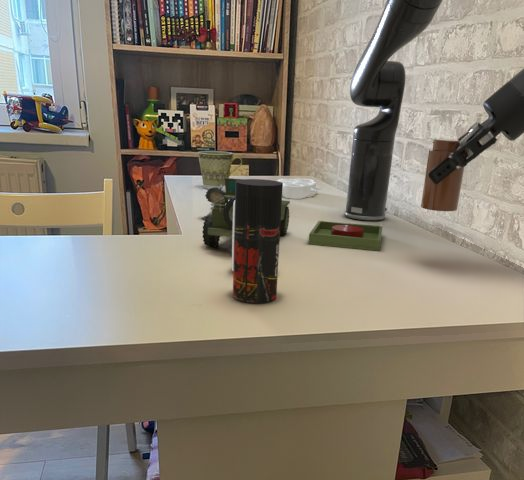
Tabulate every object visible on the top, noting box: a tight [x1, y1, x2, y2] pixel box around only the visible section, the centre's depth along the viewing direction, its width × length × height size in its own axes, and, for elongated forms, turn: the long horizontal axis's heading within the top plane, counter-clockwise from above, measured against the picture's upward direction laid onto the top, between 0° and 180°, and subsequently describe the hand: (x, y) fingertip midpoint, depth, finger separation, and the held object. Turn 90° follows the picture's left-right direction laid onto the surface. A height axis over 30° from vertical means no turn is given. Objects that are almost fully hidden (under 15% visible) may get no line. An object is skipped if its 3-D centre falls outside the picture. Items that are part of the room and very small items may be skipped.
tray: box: [308, 220, 384, 252], centre depth 110 cm, size 13×13×2 cm
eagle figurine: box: [200, 187, 226, 220], centre depth 122 cm, size 8×7×9 cm
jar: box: [420, 138, 465, 212], centre depth 90 cm, size 6×6×11 cm
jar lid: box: [331, 225, 364, 238], centre depth 109 cm, size 6×6×2 cm
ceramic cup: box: [197, 150, 244, 190], centre depth 163 cm, size 13×10×10 cm
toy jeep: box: [202, 177, 291, 248], centre depth 103 cm, size 12×25×11 cm, turn 168°
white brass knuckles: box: [276, 178, 322, 200], centre depth 161 cm, size 3×18×15 cm
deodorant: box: [232, 178, 283, 304], centre depth 73 cm, size 6×6×15 cm
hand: (430, 177), depth 91 cm, fingers closed on jar, 6 cm apart
